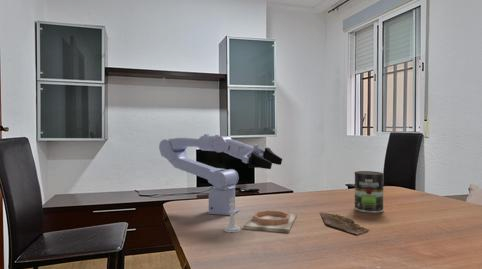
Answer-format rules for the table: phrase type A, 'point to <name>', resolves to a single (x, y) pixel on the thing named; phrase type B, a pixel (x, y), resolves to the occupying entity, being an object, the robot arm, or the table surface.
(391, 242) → the table surface
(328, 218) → the wooden fragment
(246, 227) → the birch board
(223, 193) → the robot arm
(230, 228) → the chess piece
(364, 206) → the coffee can
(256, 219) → the ring collar
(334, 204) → the table surface
